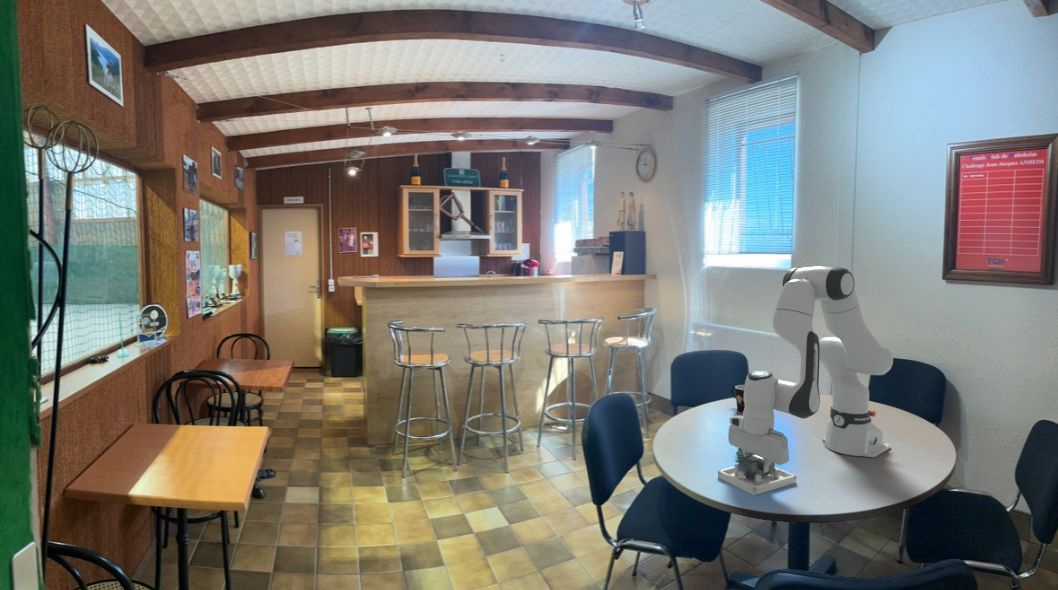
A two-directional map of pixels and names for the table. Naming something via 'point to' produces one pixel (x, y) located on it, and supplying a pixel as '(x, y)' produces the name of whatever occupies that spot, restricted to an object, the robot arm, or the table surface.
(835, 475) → the table surface
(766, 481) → the holder tray
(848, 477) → the table surface
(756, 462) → the block
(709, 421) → the table surface
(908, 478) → the table surface
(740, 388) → the coffee mug
